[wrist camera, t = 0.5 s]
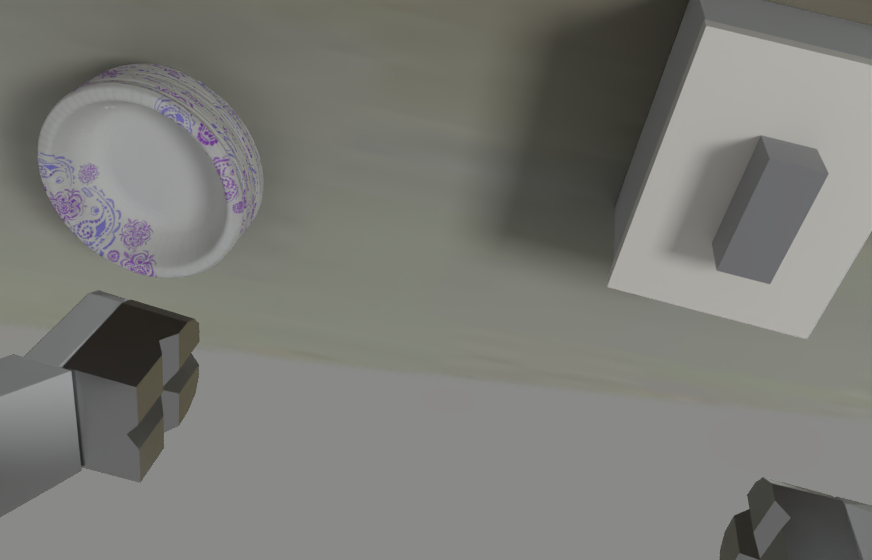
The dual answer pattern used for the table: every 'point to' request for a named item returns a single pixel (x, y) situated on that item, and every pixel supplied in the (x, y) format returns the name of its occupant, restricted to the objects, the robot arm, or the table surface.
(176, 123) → the paper bowls
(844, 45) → the storage box
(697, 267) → the lid
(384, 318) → the table surface
